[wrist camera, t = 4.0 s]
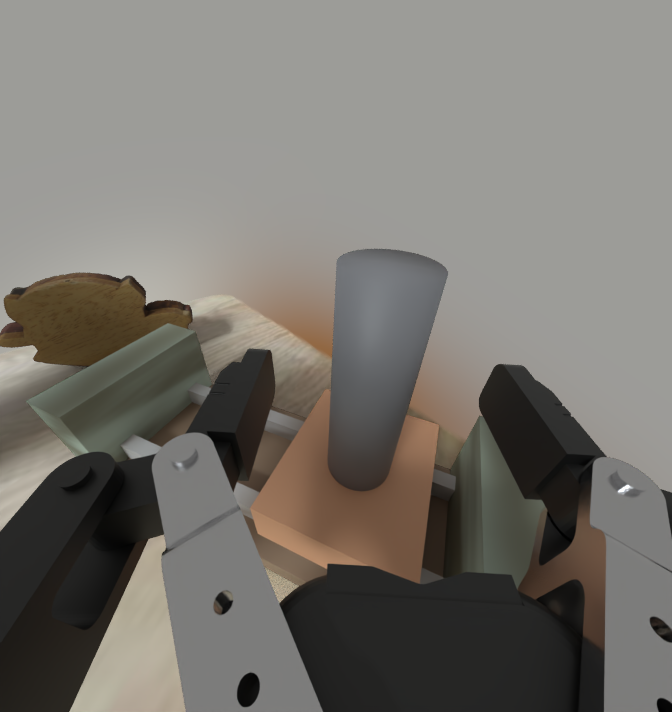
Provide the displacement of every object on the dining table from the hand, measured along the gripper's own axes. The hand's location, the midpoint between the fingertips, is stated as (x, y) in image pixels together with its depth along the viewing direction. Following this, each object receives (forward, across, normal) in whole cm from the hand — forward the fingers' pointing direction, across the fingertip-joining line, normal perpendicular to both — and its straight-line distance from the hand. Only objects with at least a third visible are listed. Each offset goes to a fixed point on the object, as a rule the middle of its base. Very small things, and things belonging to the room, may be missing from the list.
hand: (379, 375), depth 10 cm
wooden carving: (+16, +26, +14) cm, 34 cm away
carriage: (+1, 0, +10) cm, 10 cm away
